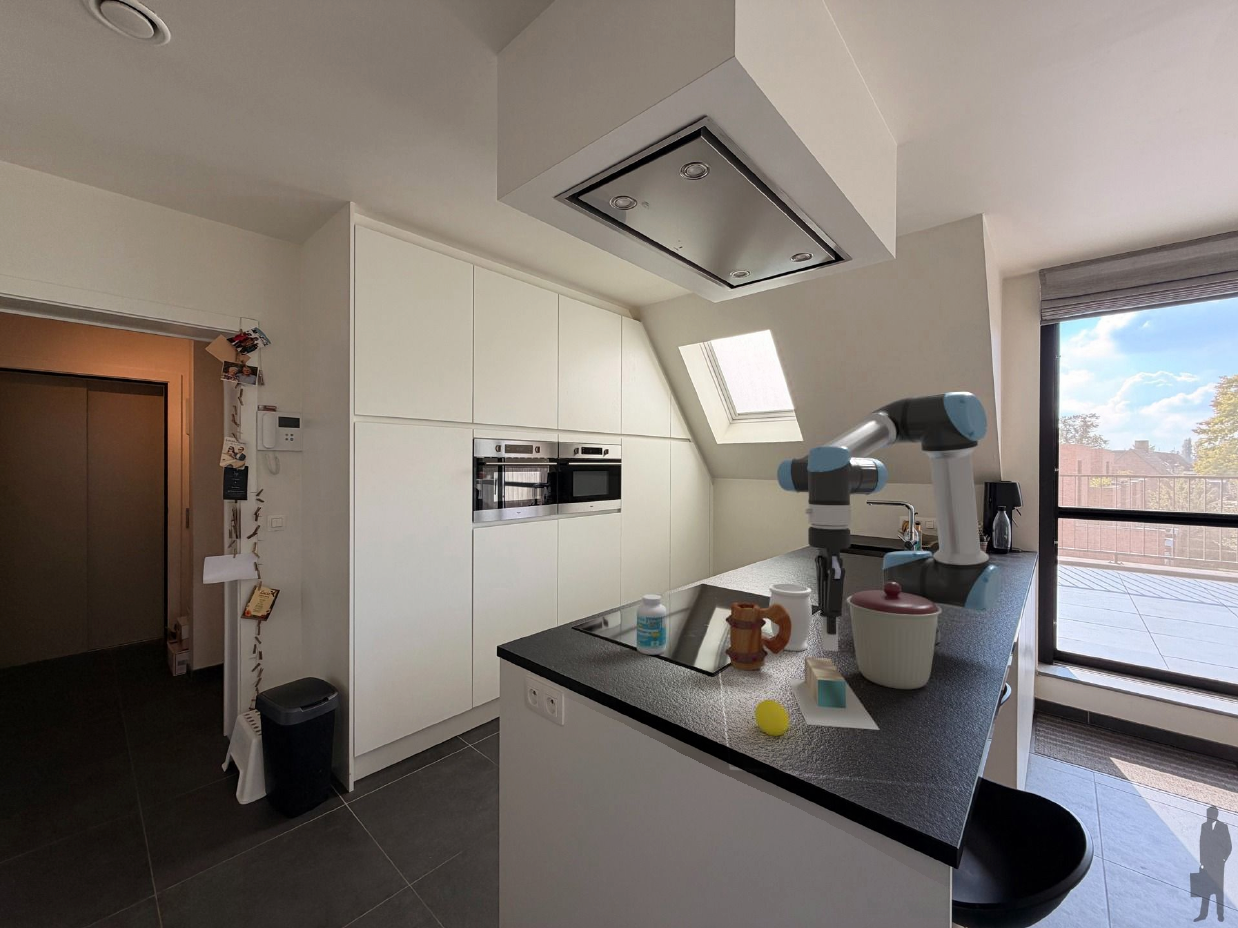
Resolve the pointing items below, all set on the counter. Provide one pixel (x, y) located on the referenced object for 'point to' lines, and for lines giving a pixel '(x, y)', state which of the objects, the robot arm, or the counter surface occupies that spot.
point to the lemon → (772, 717)
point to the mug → (755, 634)
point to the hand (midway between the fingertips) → (829, 649)
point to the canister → (894, 636)
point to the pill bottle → (651, 626)
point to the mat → (831, 709)
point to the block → (825, 682)
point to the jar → (793, 612)
